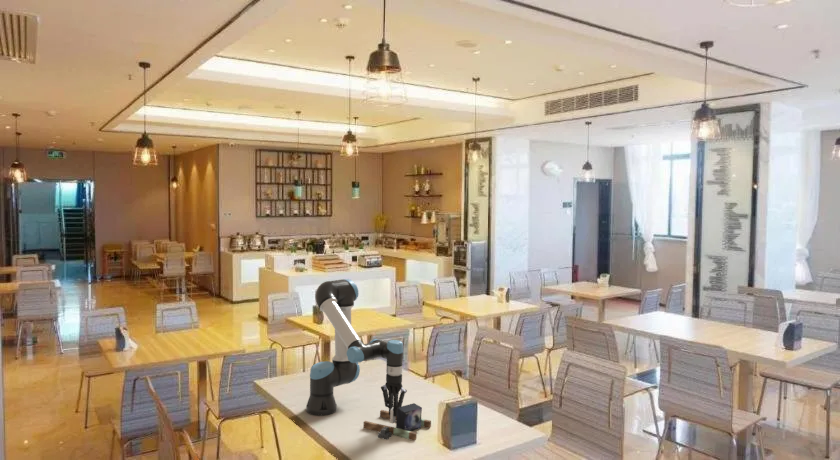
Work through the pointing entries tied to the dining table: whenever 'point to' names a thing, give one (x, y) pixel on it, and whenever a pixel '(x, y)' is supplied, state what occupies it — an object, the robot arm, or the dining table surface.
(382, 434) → the fulcrum
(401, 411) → the small box
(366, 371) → the dining table surface
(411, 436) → the beam slot
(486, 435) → the dining table surface
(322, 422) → the dining table surface
